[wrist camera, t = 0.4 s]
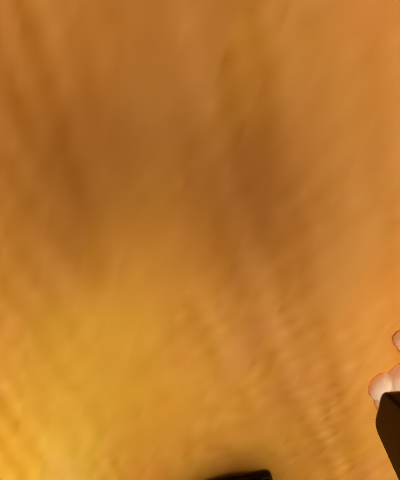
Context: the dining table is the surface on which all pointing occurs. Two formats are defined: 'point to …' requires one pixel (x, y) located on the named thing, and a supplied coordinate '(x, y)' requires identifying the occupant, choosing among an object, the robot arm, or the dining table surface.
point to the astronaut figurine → (386, 379)
